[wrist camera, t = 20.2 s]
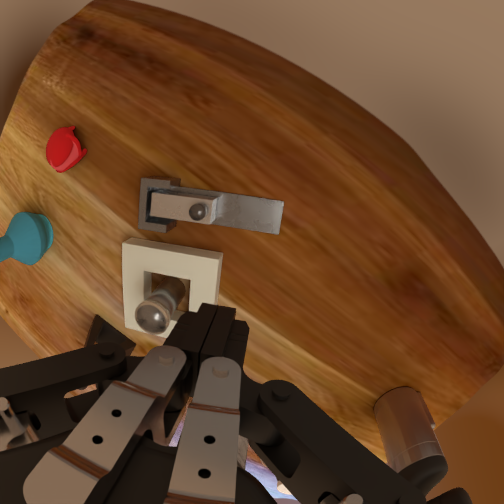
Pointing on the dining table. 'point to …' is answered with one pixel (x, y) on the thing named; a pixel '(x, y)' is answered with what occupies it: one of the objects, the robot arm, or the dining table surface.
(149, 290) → the socket
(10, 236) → the perfume bottle
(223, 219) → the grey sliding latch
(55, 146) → the cap
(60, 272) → the dining table surface
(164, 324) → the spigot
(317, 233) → the dining table surface
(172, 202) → the bolt
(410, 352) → the dining table surface
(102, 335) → the phone stand
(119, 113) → the dining table surface
